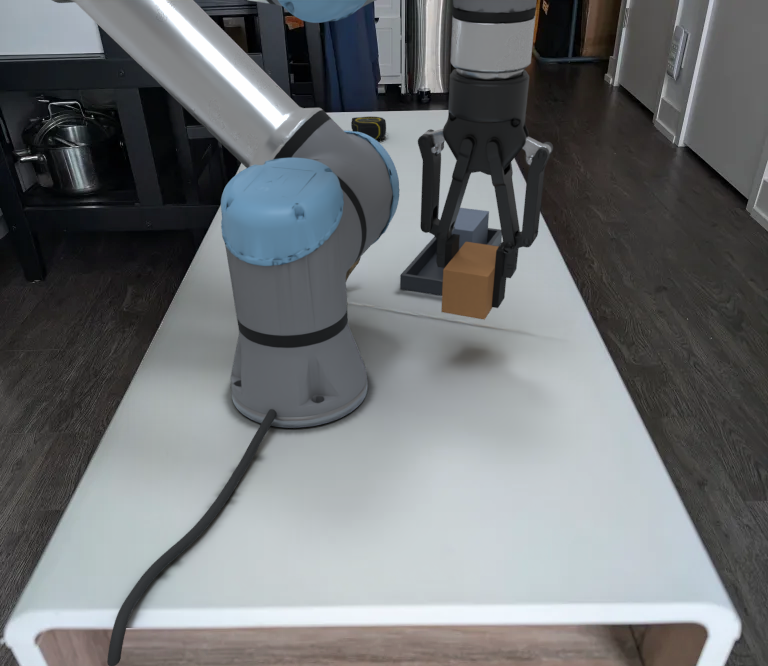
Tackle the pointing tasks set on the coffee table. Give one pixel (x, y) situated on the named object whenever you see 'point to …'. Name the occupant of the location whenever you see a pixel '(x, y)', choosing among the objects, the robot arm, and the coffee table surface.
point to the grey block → (471, 226)
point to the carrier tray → (433, 267)
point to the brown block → (469, 281)
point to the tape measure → (369, 126)
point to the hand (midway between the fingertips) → (473, 297)
